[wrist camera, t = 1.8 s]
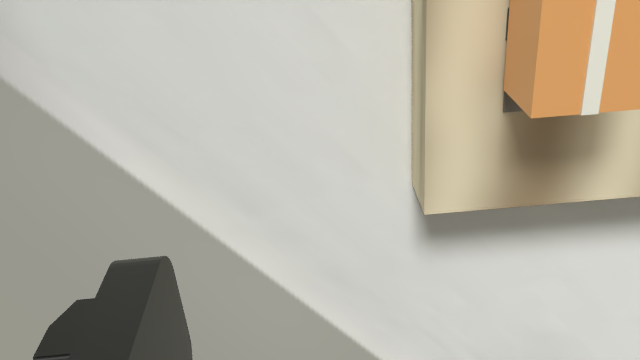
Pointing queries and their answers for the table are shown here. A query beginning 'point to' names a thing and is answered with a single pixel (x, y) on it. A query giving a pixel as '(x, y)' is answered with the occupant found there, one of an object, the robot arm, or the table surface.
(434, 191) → the fader console
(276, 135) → the table surface
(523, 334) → the table surface
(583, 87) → the fader knob
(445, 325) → the table surface
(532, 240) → the table surface
